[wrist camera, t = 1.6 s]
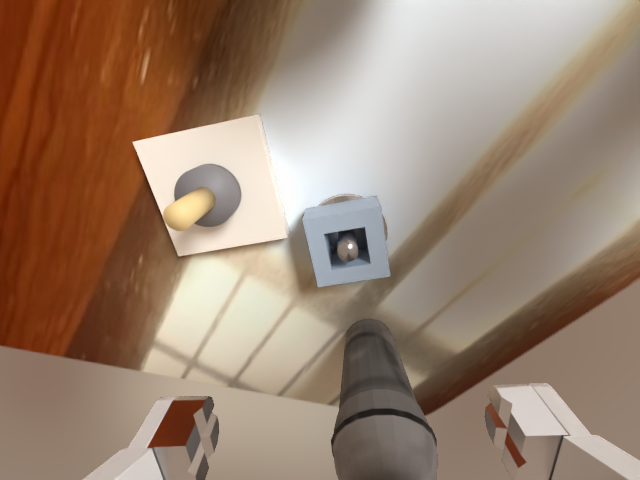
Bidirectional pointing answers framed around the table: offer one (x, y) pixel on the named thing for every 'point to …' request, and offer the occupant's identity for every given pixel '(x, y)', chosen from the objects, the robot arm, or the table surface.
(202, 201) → the hub
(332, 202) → the stand
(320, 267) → the ring
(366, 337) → the beverage cup
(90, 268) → the table surface
